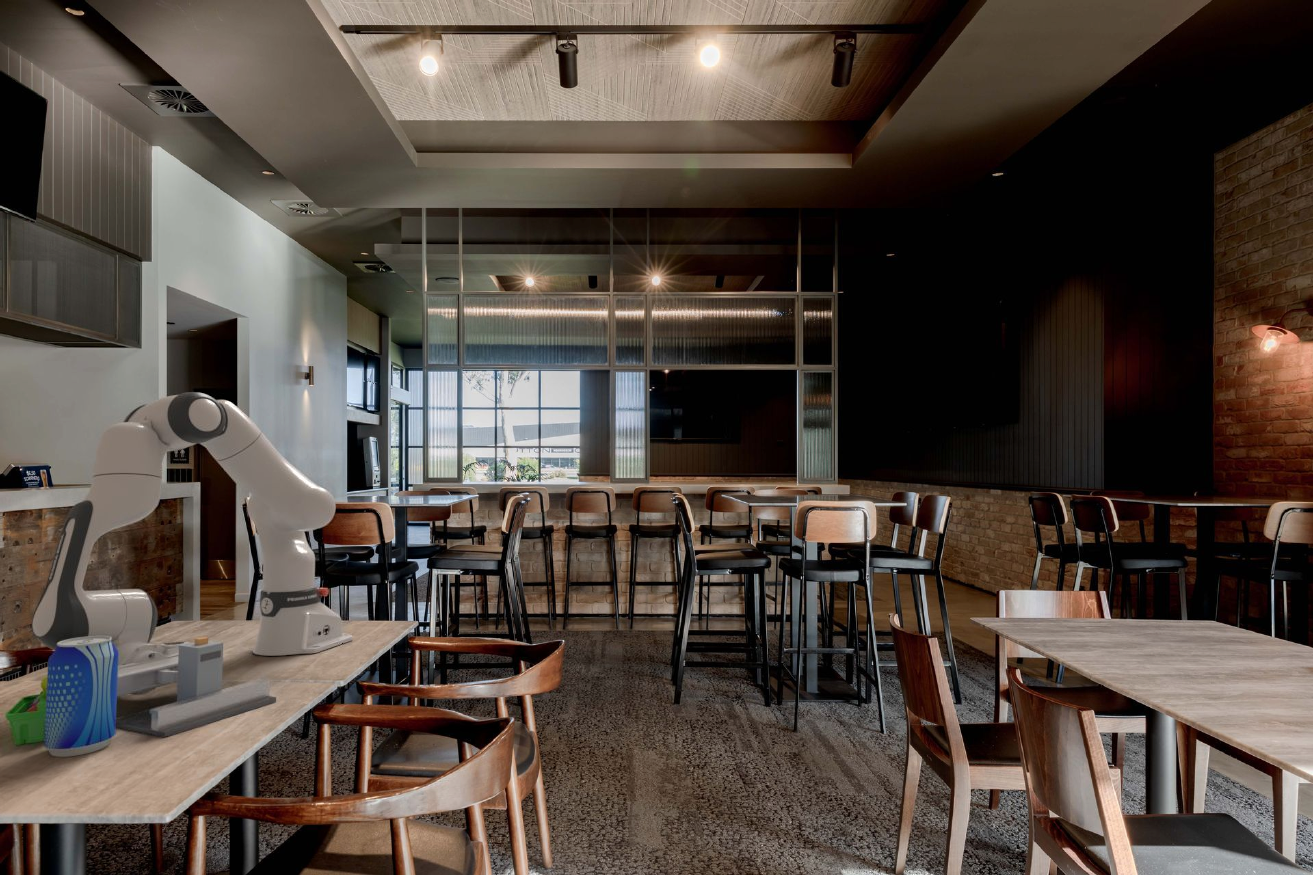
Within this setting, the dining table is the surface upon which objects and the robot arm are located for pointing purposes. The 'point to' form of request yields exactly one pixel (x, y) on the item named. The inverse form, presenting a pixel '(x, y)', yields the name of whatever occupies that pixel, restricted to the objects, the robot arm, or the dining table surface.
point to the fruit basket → (29, 717)
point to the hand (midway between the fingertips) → (190, 676)
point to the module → (199, 668)
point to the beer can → (81, 696)
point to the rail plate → (147, 716)
